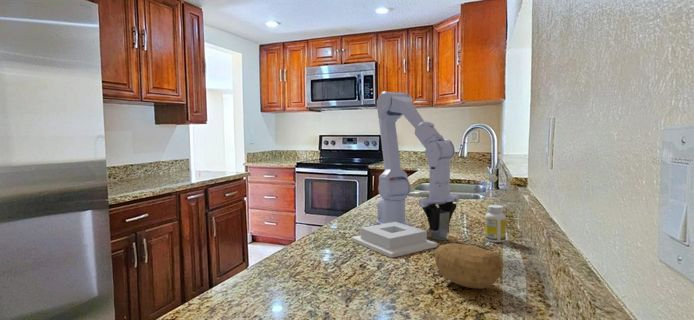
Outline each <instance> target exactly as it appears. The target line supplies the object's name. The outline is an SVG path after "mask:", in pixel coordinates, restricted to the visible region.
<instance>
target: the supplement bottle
mask: <svg viewBox="0 0 694 320" xmlns="http://www.w3.org/2000/svg"><path fill="white" fill-rule="evenodd" d="M487 211H488V212H487V213H486V214H485V217H484V218H485V219H484V220H485V221H484V223H485V231H484V232H485V234H484V237H485V240H486V241H488V242H490V243H504V242H505V241H506V240H507V237H506V236H507V235H506V234H507V233H506V231H507V230H506V229H507V226H506V225H507V224H506V223H507V216H506V215H505V214H504V206H503V205H499V204H490V205H488V206H487Z"/></svg>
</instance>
